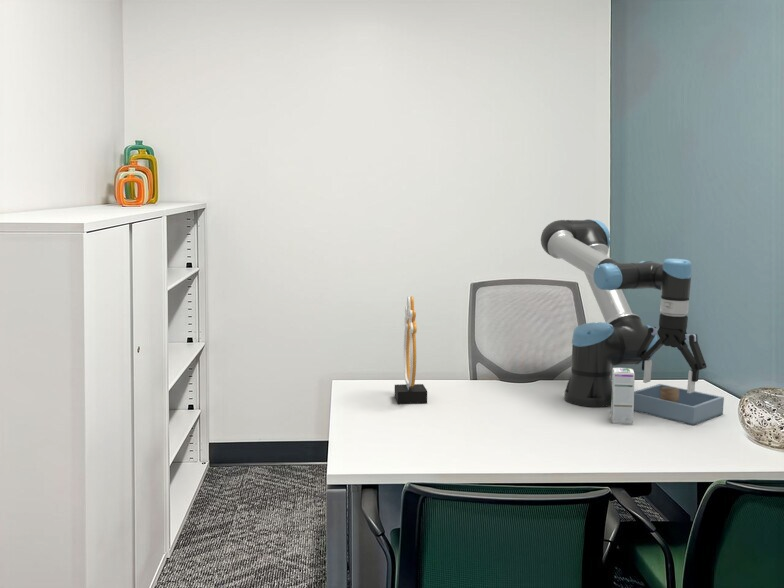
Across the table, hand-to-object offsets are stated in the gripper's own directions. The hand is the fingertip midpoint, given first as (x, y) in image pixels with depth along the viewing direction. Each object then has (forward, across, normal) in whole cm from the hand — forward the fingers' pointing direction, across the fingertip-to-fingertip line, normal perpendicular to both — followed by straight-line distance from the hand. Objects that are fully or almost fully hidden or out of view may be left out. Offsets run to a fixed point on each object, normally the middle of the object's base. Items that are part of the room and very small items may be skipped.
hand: (668, 387), depth 221 cm
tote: (+8, +1, +4) cm, 9 cm away
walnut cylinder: (+7, +1, 0) cm, 7 cm away
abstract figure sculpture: (+9, -57, -47) cm, 75 cm away
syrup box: (+8, -4, -16) cm, 19 cm away
